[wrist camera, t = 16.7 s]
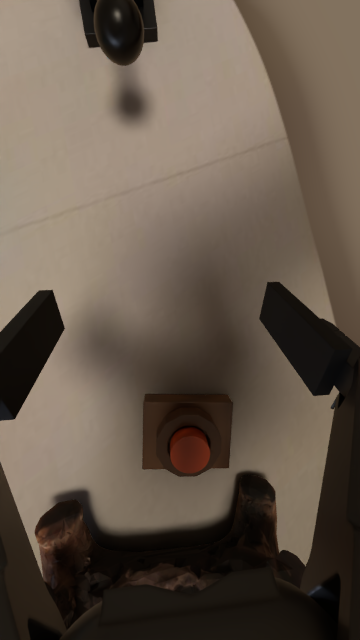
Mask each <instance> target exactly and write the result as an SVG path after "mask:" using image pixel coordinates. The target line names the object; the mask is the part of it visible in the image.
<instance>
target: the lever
mask: <svg viewBox="0 0 360 640" xmlns="http://www.w3.org/2000/svg"><path fill="white" fill-rule="evenodd" d="M94 29H95V33H96V37H97V40H98V43H99V45H100V47H101V49H102V51H103V52H104V54H105V55H106V56H107V57H108V58H109V59H110V60H111V61H112V62H114V63H116V64H118V65H122V66H126V65H130V64H132V63H133V62H134V61H135V60H136V59H137V58H138V57H139V55H140V53H141V51H142V47H143V43H144V26H143V20H142V17H141V14H140V11H139V9H138V7H137V5H136V3H135V1H134V0H97V3H96V6H95V10H94Z"/></svg>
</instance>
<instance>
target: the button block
mask: <svg viewBox="0 0 360 640" xmlns="http://www.w3.org/2000/svg"><path fill="white" fill-rule="evenodd" d="M232 406H233V402H232V401H231V399H230V398H229V396H228V395H206V394H145V398H144V406H143V466H142V468H143V469H166V470H168V471H170V472H172V473H174V474H176V475H177V476H180V477H181V476H198V475H199V474H201V473H203V472H205V471H207V470H209V469H210V468H229V458H230V441H231V424H232ZM184 427H195V428H197V429H199V430H201V431H202V432H203V433H204V434H205V436H206V439H207V442H208V445H209V449H210V458H209V461H208V463H207V465H206V466H205V467H204V468H203V469H202V470H200V471H198V472H195V473H184V472H181V471H179V470H178V469H176V468H175V467H174V465H173V464H172V462H171V458H170V441H171V438H172V436H173V435H174V434H175V433H176V432H177V431H178V430H179V429H181V428H184Z"/></svg>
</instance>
